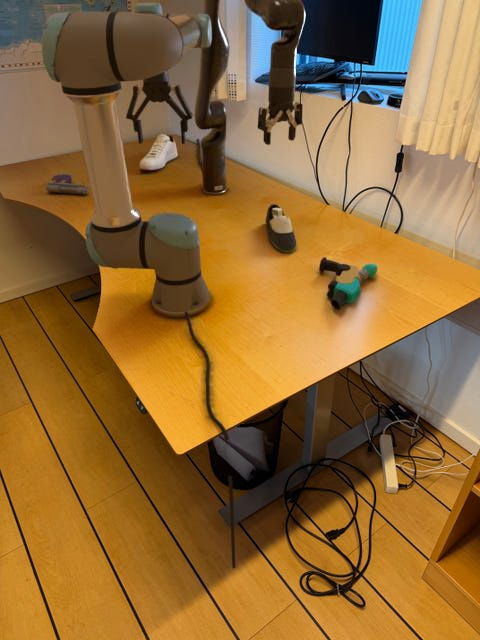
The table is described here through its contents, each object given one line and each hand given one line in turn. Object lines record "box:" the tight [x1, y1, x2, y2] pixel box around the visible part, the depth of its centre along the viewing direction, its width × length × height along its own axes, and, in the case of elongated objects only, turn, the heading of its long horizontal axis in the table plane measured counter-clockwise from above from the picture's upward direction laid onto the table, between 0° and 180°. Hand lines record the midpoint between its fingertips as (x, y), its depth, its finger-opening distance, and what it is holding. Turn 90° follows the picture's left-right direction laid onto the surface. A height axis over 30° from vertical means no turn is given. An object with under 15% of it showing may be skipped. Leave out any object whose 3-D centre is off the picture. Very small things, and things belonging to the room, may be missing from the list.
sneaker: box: [139, 133, 179, 171], centre depth 214 cm, size 10×29×12 cm, turn 163°
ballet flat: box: [265, 203, 297, 253], centre depth 154 cm, size 8×24×8 cm, turn 11°
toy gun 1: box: [45, 173, 89, 195], centre depth 192 cm, size 4×19×15 cm
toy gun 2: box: [318, 256, 378, 312], centre depth 129 cm, size 4×26×15 cm
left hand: (162, 142), depth 150 cm, fingers open, 13 cm apart
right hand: (279, 142), depth 144 cm, fingers open, 8 cm apart
